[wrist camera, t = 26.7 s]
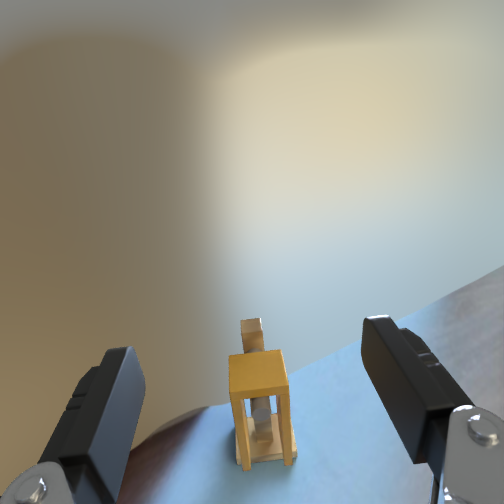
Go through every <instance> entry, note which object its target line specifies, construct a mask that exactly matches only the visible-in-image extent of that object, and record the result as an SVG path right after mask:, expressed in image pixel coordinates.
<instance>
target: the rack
mask: <svg viewBox="0 0 504 504" xmlns="http://www.w3.org/2000/svg"><path fill="white" fill-rule="evenodd" d="M241 335H242V342H243V349H244V354H245V353H254V352H262V351H264V341H263V331H262V325H261V319H260V318H255V319H247V320H241ZM250 405H251V416H252V417H247V424H248V431H249V445H250V460H251V463H257V462H264V461H272V460H279V459H283V453H282V447H281V440H280V434H279V428H278V415H277V413H276V414H271V407H270V400H269V396H265V397H257V398H250ZM235 435H236V460H237V465H242V463H241V457H240V451H239V446H238V440H237V434H236V428H235ZM291 438H292V458H294V457H297V447H296V442H295V437H294V432H293V427H292V422H291Z"/></svg>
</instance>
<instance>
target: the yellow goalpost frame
mask: <svg viewBox="0 0 504 504" xmlns="http://www.w3.org/2000/svg"><path fill="white" fill-rule="evenodd" d="M229 394H230V400H231V406H232V411H233V417H234V423H235V428H236V434H237V440H238V446H239V451H240V457H241V463H242V469H243V471H249V470H251V460H250V445H249V431H248V424H247V417H246V410H245V403H244V399H249V398H257V397H265V396H273V395H276V402H277V415H278V428H279V434H280V440H281V447H282V453H283V459H284V465H285V466H288V465H293V458H292V438H291V417H290V396H289V383H288V378H287V374H286V369H285V365H284V361H283V356H282V351H281V349H279V350H270V351H262V352H254V353H245V354H237V355H230V356H229Z"/></svg>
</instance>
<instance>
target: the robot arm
mask: <svg viewBox="0 0 504 504" xmlns="http://www.w3.org/2000/svg"><path fill="white" fill-rule="evenodd" d="M361 356H362V361H363V365H364V367H365V369H366V371H367V373H368V375H369V377H370V379H371V381H372V383H373V385H374V387H375V389H376V391H377V393H378V395H379V397H380V399H381V401H382V403H383V405H384V407H385V409H386V411H387V413H388V415H389V417H390V419H391V421H392V422H393V424H394V426H395V428H396V430H397V432H398V434H399V436H400V438H401V440H402V442H403V444H404V446H405V448H406V450H407V452H408V454H409V456H410V458H411V460H412V462H413V464H420V463H428V465H429V467H430V468H431V470H432V472H433V476H432V481H431V489H430V496H429V504H504V421H503V420H502V419H501V418H500V417H498V416H497V415H495V414H493V413H491V412H490V411H487V410H485V409H483V408H479V407H476V406H475V405H474V404H473V402H472V401H471V400H470V399H469V397H468V396H467V395H466V394H465V393H464V391H463V390H462V389H461V388H460V386H459V385H458V384H457V383H456V381H455V380H454V379H453V378H452V376H451V375H450V374H449V373H448V371H447V370H446V369H445V368H444V366H443V365H442V364H441V363H439V360H438V359H437V358H436V356H435V355H434V354H433V353H431V350H430V349H429V348H428V346H427V345H426V344H425V343H424V341H423V340H422V339H421V338H420V337H419V336H417V335H416V334H414V333H413V332H411V331H410V330H408V329H407V328H402V329H399V328H398V327H397V326H396V324H395V323H394V322H393V320H392V319H391V318H390V317H389V316H388V315H382V316H373V317H366V318H365V319H364V322H363V333H362V344H361ZM144 396H145V378H144V375H143V372H142V370H141V367H140V364H139V361H138V358H137V355H136V352H135V350H134V348H133V347H132V346H129V347H121V348H113V349H108V350H107V351H106V353H105V355H104V358H103V360H102V362H101V364H100V366H96V367H92V368H91V369H90V370H89V371H88V372H87V373H86V374H85V375H84V377H82V379H81V380H80V381H79V383H78V385H77V387H76V389H75V391H74V393H73V395H72V398H71V399H70V400H69V403H68V404H67V407H66V411H64V412H63V415H62V416H61V418H60V420H59V423H58V424H57V426H56V428H55V430H54V432H53V434H52V436H51V438H50V440H49V442H48V444H47V446H46V448H45V450H44V452H43V454H42V456H41V458H40V460H39V461H38V463H37V465H34V466H32V467H31V468H29V469H27V470H26V471H24V472H23V473H21V474H20V475H19V476H18V477H17V478H16V479H15V480H14V481H13V482H12V483H11V484H10V485H9V486H8V488H7V489H6V490H5V492H4V493H3V495H2V496H0V504H116V501H117V498H118V494H119V490H120V486H121V483H122V479H123V475H124V471H125V468H126V464H127V460H128V456H129V453H130V449H131V445H132V441H133V438H134V433H135V430H136V426H137V423H138V419H139V415H140V411H141V407H142V404H143V400H144Z"/></svg>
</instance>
